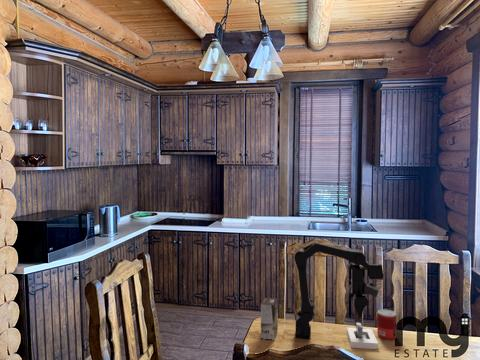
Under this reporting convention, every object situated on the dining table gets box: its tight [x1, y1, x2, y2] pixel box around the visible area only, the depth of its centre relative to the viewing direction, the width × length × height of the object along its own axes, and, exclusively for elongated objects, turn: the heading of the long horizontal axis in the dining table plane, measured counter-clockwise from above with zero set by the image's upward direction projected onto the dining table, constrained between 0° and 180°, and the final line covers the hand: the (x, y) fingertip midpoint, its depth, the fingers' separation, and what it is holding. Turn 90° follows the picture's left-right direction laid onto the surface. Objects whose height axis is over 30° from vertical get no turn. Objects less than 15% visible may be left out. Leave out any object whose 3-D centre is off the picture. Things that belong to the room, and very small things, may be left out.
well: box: [346, 327, 379, 350], centre depth 156 cm, size 11×14×2 cm
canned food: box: [376, 308, 397, 341], centre depth 160 cm, size 8×8×11 cm
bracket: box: [355, 322, 368, 339], centre depth 156 cm, size 4×5×7 cm
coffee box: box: [260, 297, 279, 341], centre depth 162 cm, size 9×6×16 cm
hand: (358, 313), depth 157 cm, fingers open, 9 cm apart
